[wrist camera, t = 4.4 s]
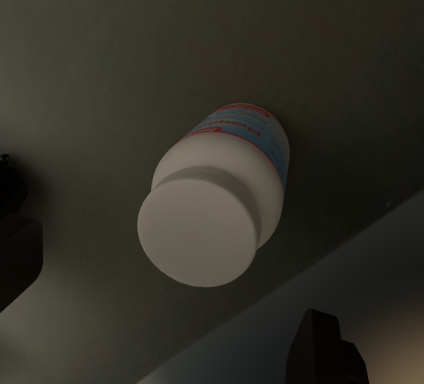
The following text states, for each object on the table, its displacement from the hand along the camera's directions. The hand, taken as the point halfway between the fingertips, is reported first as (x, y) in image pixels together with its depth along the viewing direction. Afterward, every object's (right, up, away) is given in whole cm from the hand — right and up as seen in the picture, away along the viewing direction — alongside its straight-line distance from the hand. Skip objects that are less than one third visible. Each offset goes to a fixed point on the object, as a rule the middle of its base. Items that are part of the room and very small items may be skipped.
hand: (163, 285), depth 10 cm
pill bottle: (+3, +6, +13) cm, 14 cm away
